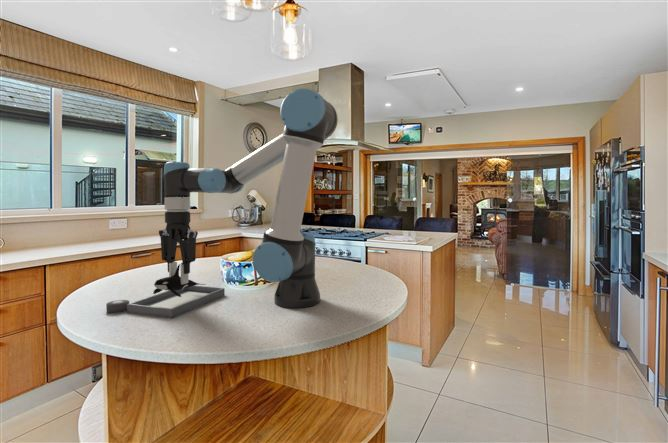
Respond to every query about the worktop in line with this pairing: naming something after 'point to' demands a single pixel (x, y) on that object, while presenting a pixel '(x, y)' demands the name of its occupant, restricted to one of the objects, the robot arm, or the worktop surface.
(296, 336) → the worktop surface
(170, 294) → the frame
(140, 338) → the worktop surface
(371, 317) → the worktop surface
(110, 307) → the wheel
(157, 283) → the toy
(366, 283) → the worktop surface
